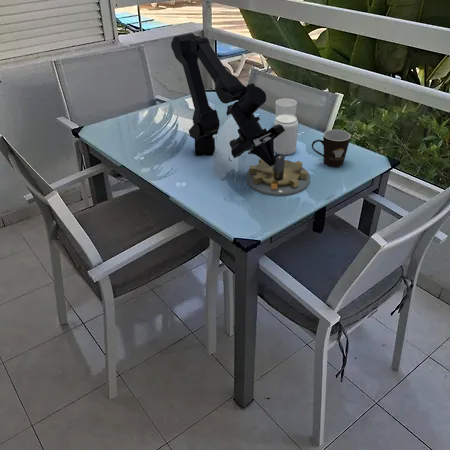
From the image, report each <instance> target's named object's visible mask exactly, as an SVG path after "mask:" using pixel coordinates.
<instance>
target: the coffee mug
mask: <svg viewBox="0 0 450 450" xmlns="http://www.w3.org/2000/svg"><path fill="white" fill-rule="evenodd" d="M351 136H352V135H351V134H350V132H347V131H345V130H341V129H328V130H326V131H324V132H323V136H322V137H323V139H315V140H314V141H312V143H311V149H312V150H313V151H314V152H315V153H317V154H318V155H319V156H321V157H323V164H324V165H325V166H326V167H328V168H329V167H330V168H334V167H335V168H341V167H342V166H343V165H344V162H345V159H346V155H347V152H348V149H349V148H348V147H349V144H350V141H351ZM317 142H320V143H321V144H322V147H323V153H321V152H319V151H318V150H316V149H315V148H314V145H315V143H317ZM340 166H341V167H340Z"/></svg>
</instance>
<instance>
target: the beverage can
mask: <svg viewBox="0 0 450 450" xmlns="http://www.w3.org/2000/svg"><path fill="white" fill-rule="evenodd" d="M278 124H280V125H282V126H283V128H284V129H285V131H284V132H283V133H282V134H280V135H279V136H278V137H276V138H275V139H274V153H276V154H283V155H285V156H286V155H287V156H288V155H291V154H295V153H296V151H297V143H298V142H297V141H298V130H299V129H298V128H299V121H298V118H297V116H296V115H295V116H293V115H289V114H283V115H279V116H277V117H276V116H275V119H274V121H273V127H274V126H276V125H278Z"/></svg>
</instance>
